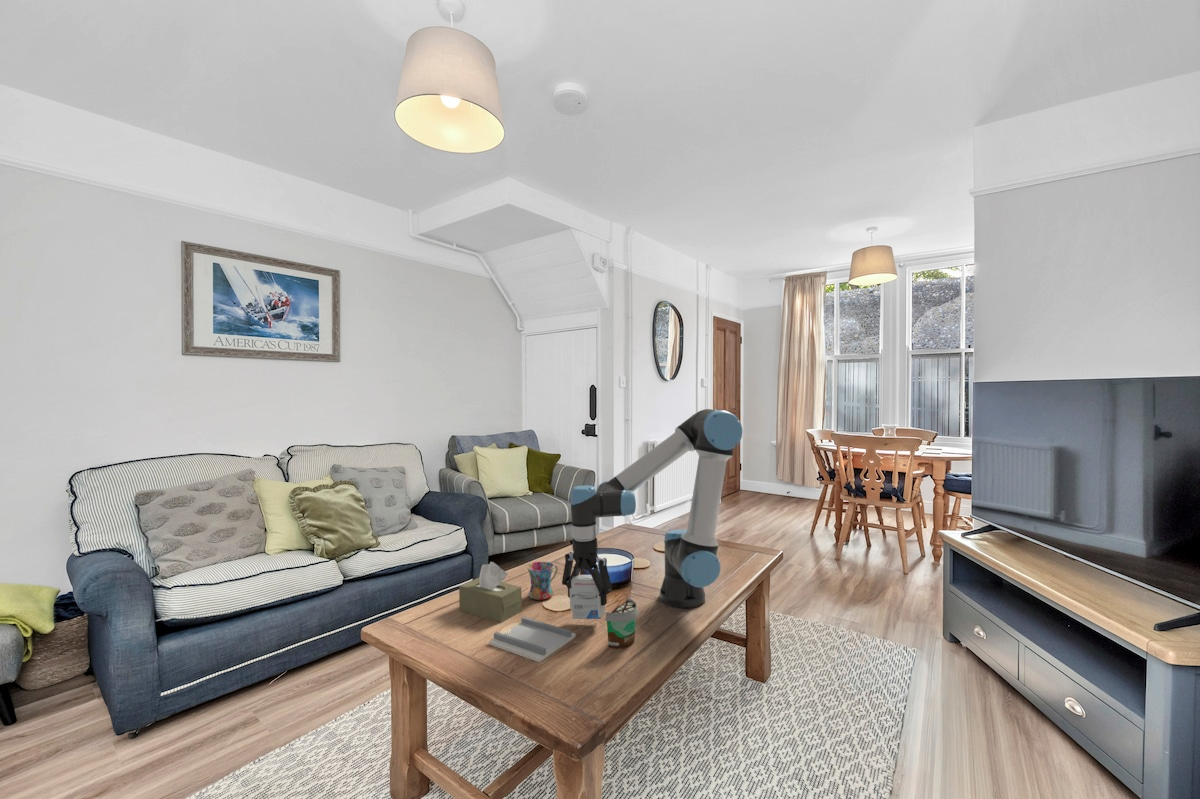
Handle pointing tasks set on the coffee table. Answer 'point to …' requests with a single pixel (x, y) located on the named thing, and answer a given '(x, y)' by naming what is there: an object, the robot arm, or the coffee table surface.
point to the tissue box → (490, 595)
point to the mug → (541, 580)
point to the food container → (622, 625)
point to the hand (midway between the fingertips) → (587, 611)
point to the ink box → (584, 597)
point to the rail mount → (532, 639)
